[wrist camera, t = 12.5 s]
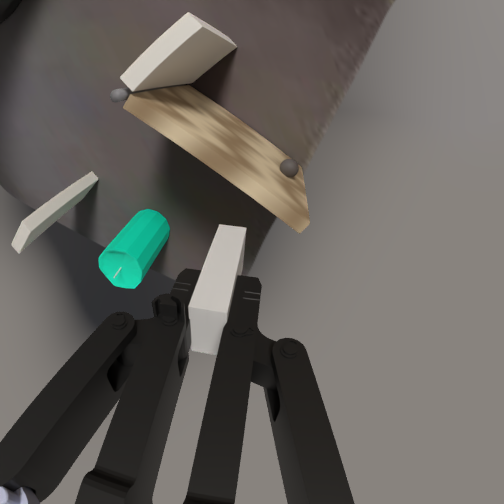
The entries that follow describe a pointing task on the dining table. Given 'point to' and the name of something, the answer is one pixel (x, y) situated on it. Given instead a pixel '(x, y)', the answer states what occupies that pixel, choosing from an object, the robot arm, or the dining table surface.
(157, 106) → the door
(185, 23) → the door frame
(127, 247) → the candle
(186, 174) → the dining table surface
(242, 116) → the dining table surface
